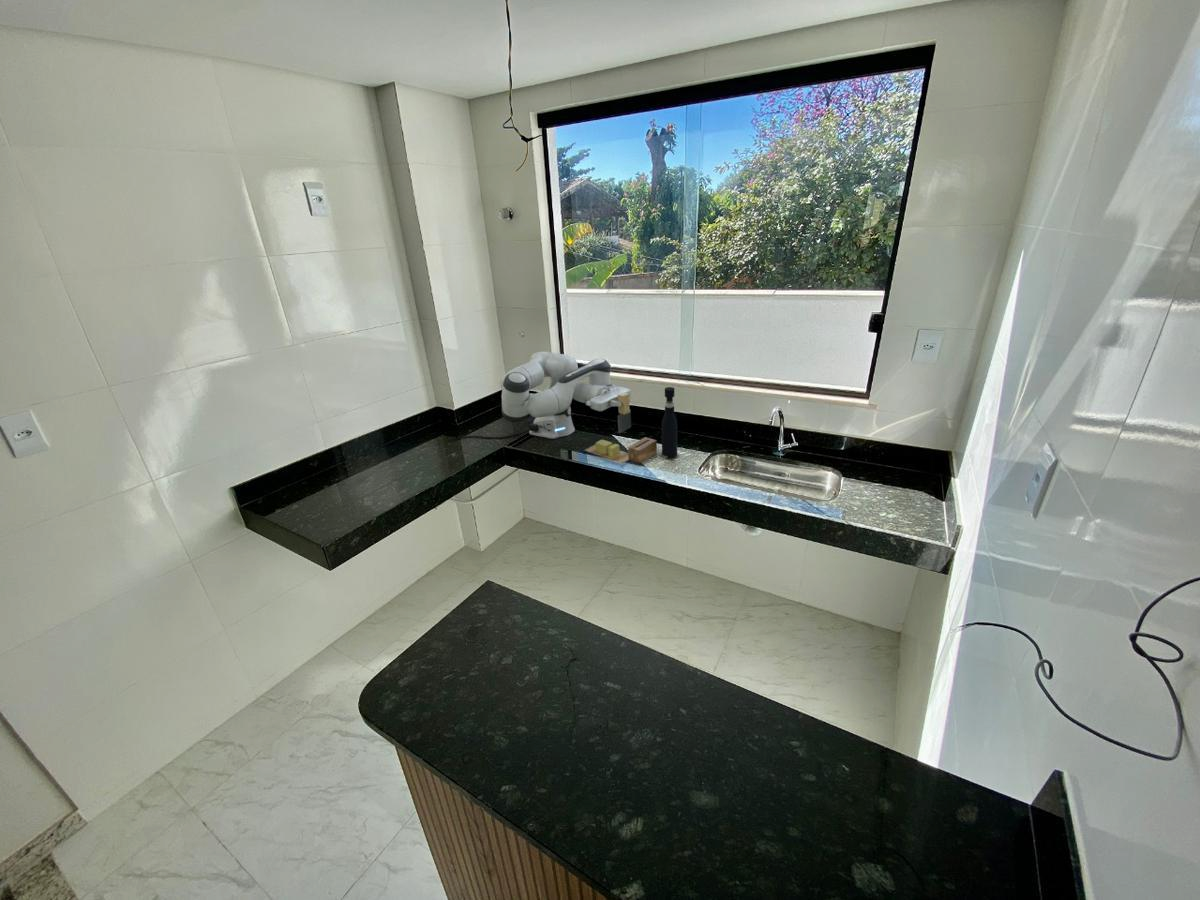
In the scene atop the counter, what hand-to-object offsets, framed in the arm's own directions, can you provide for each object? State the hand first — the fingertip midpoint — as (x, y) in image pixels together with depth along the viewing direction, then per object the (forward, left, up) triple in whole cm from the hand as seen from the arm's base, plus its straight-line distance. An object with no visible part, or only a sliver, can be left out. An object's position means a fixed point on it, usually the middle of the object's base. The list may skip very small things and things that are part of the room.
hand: (625, 402), depth 197 cm
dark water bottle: (+17, +5, -25) cm, 31 cm away
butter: (-11, +1, -24) cm, 26 cm away
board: (-8, 0, -25) cm, 26 cm away
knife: (-1, 0, -12) cm, 13 cm away
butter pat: (-6, -1, -24) cm, 24 cm away
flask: (-55, +28, -25) cm, 67 cm away
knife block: (+7, 0, -25) cm, 26 cm away
